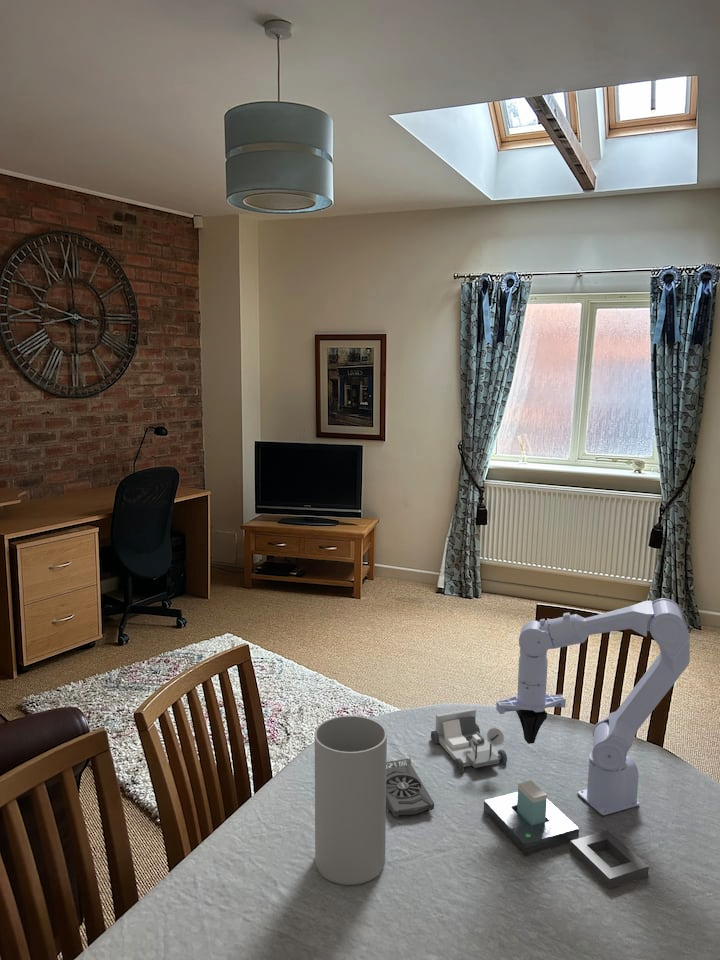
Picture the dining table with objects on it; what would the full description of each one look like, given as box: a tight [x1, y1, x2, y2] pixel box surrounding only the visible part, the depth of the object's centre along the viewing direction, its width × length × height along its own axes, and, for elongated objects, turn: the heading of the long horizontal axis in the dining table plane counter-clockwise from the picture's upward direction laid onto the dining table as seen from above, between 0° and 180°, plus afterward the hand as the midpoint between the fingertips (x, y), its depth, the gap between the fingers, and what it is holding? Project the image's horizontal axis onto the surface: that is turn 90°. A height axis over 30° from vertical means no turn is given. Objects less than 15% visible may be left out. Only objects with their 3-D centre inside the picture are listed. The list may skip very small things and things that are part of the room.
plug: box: [517, 780, 548, 827], centre depth 139 cm, size 3×5×8 cm, turn 22°
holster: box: [569, 829, 650, 890], centre depth 130 cm, size 8×10×2 cm
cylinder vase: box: [314, 715, 388, 886], centre depth 128 cm, size 12×12×25 cm
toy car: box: [430, 707, 508, 774], centre depth 164 cm, size 18×10×12 cm
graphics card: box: [386, 756, 435, 818], centre depth 150 cm, size 17×4×12 cm
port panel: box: [483, 791, 580, 857], centre depth 140 cm, size 12×14×3 cm
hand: (529, 741), depth 151 cm, fingers closed
